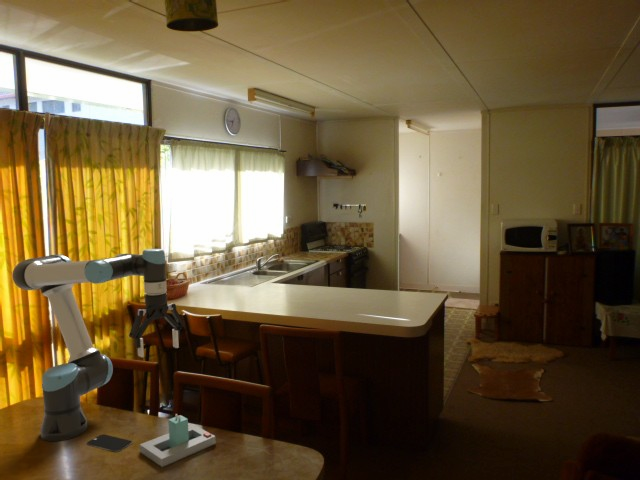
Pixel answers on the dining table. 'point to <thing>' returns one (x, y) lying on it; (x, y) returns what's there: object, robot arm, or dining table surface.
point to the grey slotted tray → (165, 455)
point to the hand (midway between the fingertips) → (158, 351)
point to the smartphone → (109, 443)
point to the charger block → (178, 430)
